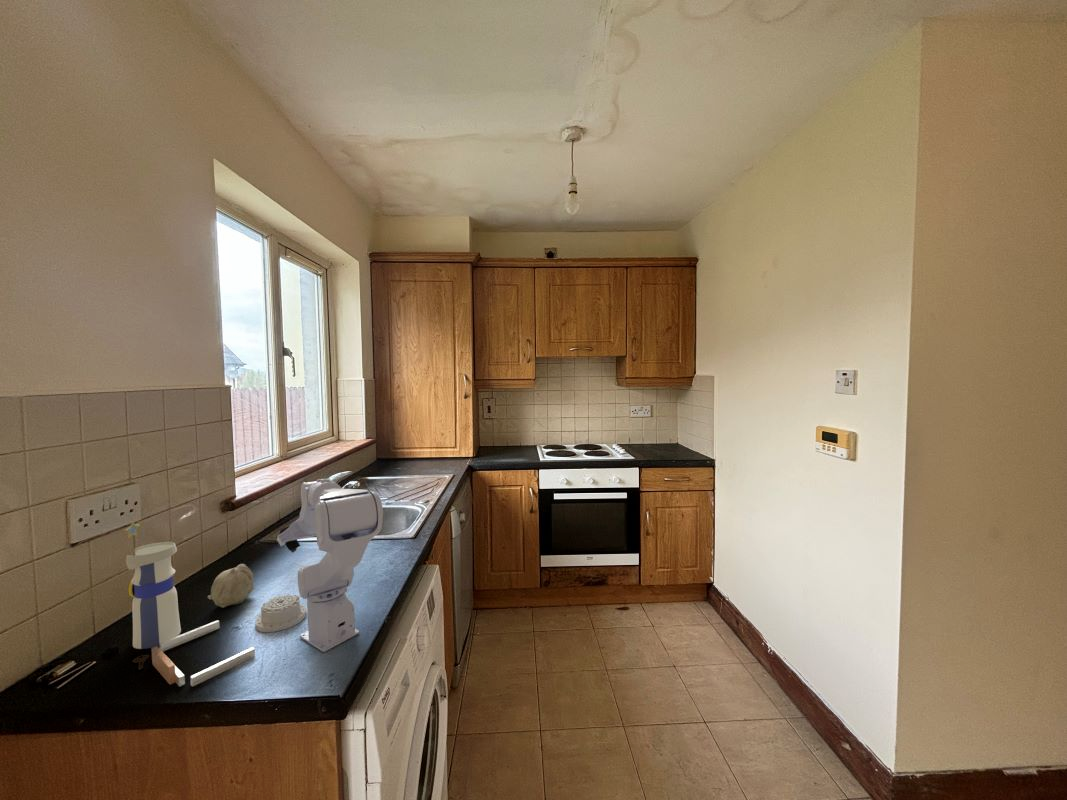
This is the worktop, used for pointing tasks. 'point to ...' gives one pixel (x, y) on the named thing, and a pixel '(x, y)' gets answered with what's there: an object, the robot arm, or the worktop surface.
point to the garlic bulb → (232, 586)
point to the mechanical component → (280, 614)
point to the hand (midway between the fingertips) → (307, 540)
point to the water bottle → (153, 593)
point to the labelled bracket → (176, 675)
